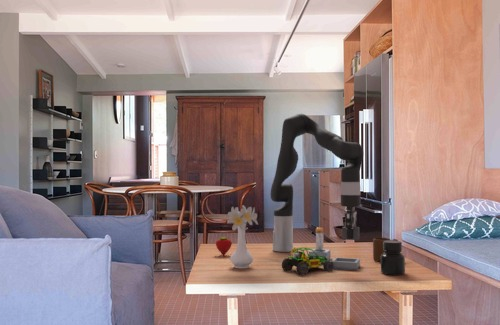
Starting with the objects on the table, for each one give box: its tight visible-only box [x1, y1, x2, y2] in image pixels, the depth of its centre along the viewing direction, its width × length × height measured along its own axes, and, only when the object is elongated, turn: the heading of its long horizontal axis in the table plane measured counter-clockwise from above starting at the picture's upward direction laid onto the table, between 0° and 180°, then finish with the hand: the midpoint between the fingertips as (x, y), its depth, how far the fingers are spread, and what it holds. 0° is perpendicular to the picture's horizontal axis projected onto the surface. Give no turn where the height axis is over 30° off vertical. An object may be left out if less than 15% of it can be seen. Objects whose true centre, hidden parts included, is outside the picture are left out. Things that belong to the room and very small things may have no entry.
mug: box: [372, 237, 399, 263], centre depth 202 cm, size 12×8×9 cm, turn 100°
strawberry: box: [215, 235, 233, 256], centre depth 217 cm, size 6×8×10 cm
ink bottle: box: [380, 239, 406, 276], centre depth 176 cm, size 10×9×12 cm
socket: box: [308, 248, 331, 261], centre depth 204 cm, size 8×8×4 cm
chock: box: [341, 226, 361, 241], centre depth 178 cm, size 4×6×4 cm
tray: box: [331, 256, 361, 271], centre depth 187 cm, size 10×9×3 cm
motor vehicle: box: [281, 246, 333, 276], centre depth 182 cm, size 12×19×11 cm, turn 122°
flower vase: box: [226, 204, 259, 270], centre depth 188 cm, size 13×18×25 cm
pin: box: [315, 227, 324, 252], centre depth 204 cm, size 3×3×14 cm
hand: (350, 238), depth 178 cm, fingers closed on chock, 4 cm apart
